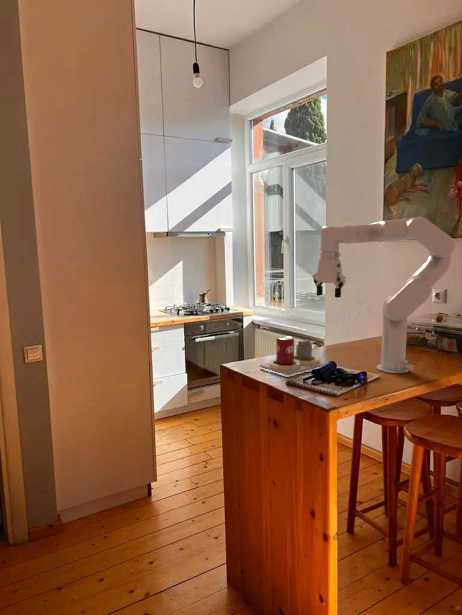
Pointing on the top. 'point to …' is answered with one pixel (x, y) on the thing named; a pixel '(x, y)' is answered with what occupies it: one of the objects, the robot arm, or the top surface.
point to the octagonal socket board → (294, 366)
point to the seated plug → (304, 351)
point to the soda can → (285, 351)
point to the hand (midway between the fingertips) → (328, 296)
